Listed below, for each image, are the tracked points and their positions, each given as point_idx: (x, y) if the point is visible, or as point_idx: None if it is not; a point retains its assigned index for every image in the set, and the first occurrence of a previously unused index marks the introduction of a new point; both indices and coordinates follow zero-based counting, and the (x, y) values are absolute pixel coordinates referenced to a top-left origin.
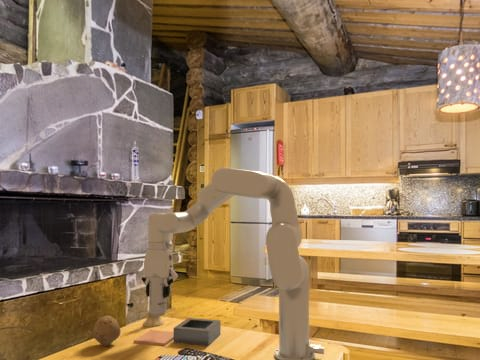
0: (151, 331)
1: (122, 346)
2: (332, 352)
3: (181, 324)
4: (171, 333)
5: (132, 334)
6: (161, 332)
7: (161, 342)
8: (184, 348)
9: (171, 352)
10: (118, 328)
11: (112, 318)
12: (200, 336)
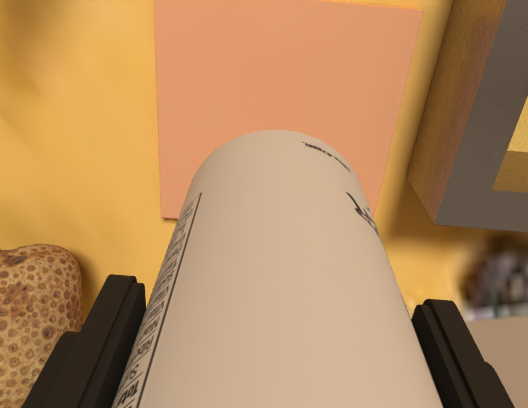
0: (182, 27)
1: (138, 265)
2: None
3: (487, 132)
4: (361, 48)
5: (56, 66)
6: (273, 38)
7: None
8: (487, 245)
9: (425, 297)
10: (70, 322)
11: (7, 396)
12: None
